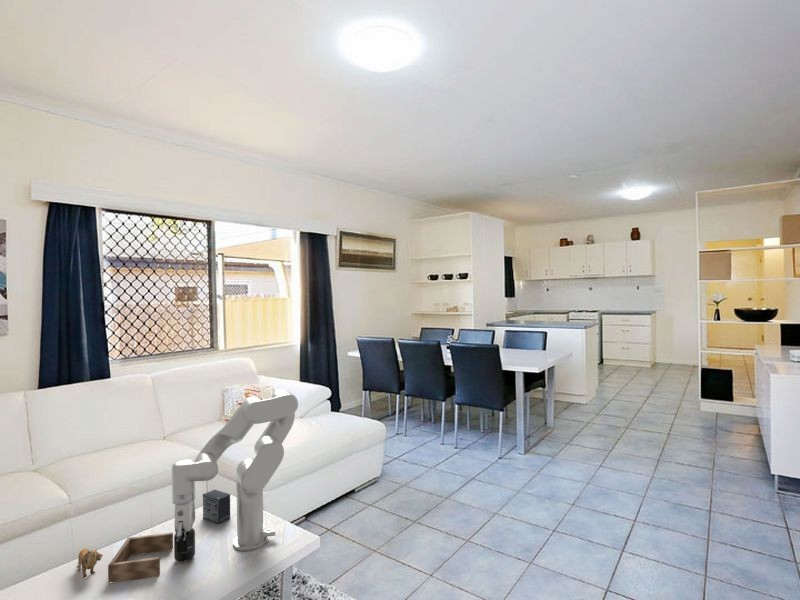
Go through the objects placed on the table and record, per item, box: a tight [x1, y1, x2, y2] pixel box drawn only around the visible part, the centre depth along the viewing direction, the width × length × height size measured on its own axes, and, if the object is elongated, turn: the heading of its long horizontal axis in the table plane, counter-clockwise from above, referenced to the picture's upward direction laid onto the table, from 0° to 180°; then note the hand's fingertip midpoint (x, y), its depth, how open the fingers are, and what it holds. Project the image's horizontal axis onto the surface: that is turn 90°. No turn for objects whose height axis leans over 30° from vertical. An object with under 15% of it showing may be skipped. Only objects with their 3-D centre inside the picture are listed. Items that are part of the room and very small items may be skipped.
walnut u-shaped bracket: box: [107, 532, 174, 584], centre depth 156 cm, size 15×17×6 cm
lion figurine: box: [76, 548, 104, 579], centre depth 153 cm, size 15×5×9 cm, turn 56°
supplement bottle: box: [173, 527, 196, 563], centre depth 159 cm, size 7×7×12 cm
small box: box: [202, 489, 231, 525], centre depth 189 cm, size 11×6×10 cm, turn 60°
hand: (184, 545), depth 159 cm, fingers closed on supplement bottle, 6 cm apart
